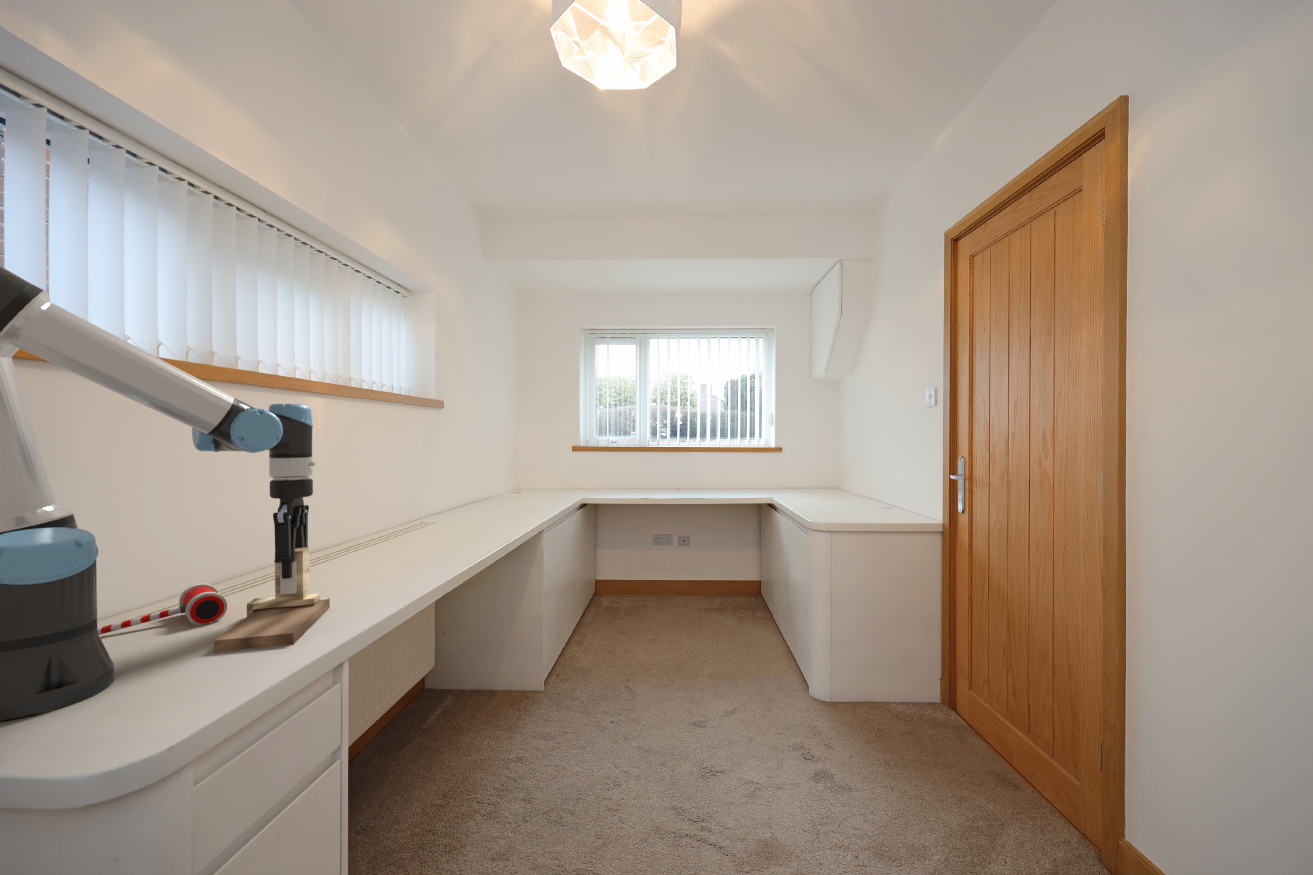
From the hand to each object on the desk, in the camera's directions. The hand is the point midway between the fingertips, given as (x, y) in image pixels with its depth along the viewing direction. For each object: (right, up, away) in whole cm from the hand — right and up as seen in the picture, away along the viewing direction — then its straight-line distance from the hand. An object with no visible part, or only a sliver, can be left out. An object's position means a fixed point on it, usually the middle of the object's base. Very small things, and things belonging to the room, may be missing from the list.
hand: (292, 590), depth 115 cm
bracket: (-1, -5, 0) cm, 5 cm away
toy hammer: (-22, -6, -6) cm, 23 cm away
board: (+2, -5, -8) cm, 10 cm away
